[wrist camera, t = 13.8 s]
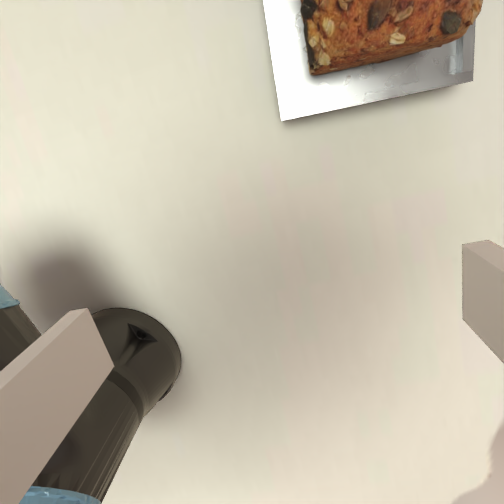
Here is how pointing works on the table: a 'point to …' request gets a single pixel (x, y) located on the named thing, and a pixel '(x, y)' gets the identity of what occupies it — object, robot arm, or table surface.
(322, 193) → the table surface
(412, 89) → the grey serving tray
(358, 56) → the bread
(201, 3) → the table surface
